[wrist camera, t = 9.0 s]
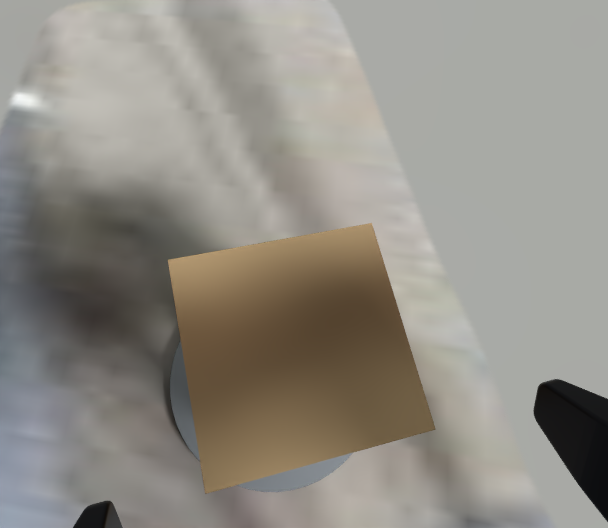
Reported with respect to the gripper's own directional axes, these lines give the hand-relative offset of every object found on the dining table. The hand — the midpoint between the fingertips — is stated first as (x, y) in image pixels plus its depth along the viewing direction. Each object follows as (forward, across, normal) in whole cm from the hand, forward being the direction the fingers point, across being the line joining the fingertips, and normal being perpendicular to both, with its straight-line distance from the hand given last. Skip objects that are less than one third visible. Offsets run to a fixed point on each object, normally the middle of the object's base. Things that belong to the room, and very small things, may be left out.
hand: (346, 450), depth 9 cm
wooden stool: (+11, 0, +7) cm, 13 cm away
